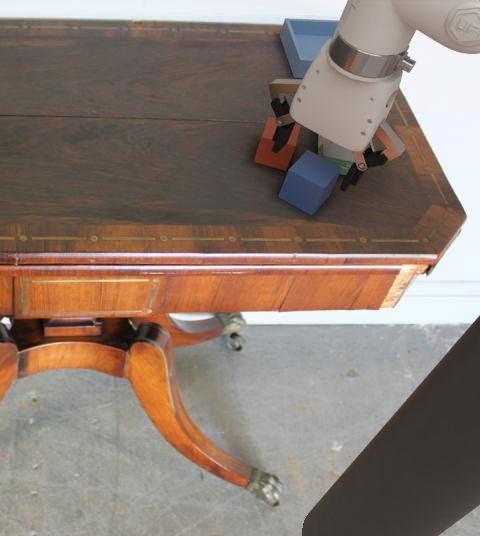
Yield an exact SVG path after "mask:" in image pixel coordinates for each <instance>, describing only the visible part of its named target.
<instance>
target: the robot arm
mask: <svg viewBox="0 0 480 536" xmlns="http://www.w3.org/2000/svg"><path fill="white" fill-rule="evenodd" d="M338 21H339V22H338V25H337V27H336V29H335V32H334V34H333V37H332V38H331V39H329V40H327V41H326V43H325V44H324V45H323V47H322V48H321V49H320V51H319V52H318V54H317V55H316V57H315V59H314V60H313V62H312V63H311V65H310V67H309V69H308V71H307V72H306V74H305V76H304V78H275V79H274V80H273V81H271V83H269V85H268V89H269V95H270V99H271V101H270V107H271V109H272V112H273V113H274V116H275V119H276V120H275V122H276V124H277V128H276V130H275V133H274V136H273V138H272V141H274V142H275V143H274V146H273V148H272V152H274V153H278V152H279V151H280V150H281V149H282V148H283V147H284V146H285V145H286V144H287V142H288V140H289V138H290V135H291V133H292V131H293V128H294V126H295V124H296V123H297V124H298V125H300V126H303V127H305V128H306V129H309V130H310V131H312V132H313V133H316V134H317V135H318V134H319V135H321V136H323V137H325V138H327V139H329V140H331V141H332V142H334V143H336V144H338V145H340V146H342V147H344V148H346V149H348V150H351V151H352V154H353V157H354V160H355V162H354V163H353V164H352V166H351V167H350V169H349V170H348V172H347V174H346V175H344V178H343V180H342V182H341V184H340V185H339V189H340V191H341V192H343V193H345V192H346V191H347V189H349V188H350V186H351V185H352V186H353V187H356V186H357V185H358V183H359V182H360V181H361V179H362V177H363V175H364V173H365V172H366V170H367V169H370V168H374V167H375V168H376V167H381V166H384V165H386V164H387V163H389V162H390V161H392V160H395V159H397V158H398V157H400V156H401V155H402V154H403V153H404V152H405V151H406V149H407V147H406V144H404V142H403V141H402V140H401V138H400V137H399V136H398V134H397V133H396V132H395V131H394V130H393V128H392V127H391V126H390V125H389V123H388V122H387V121H386V120H387V118H388V116H389V114H390V111H391V109H392V107H393V104H394V102H395V99H396V97H397V95H398V92H399V89H400V85H401V82H402V78H403V73H404V72H406V73H408V74H410V73H411V72H412V70H413V69H414V67H415V65H416V63H417V60H414V59H412V58H411V56H409V55H408V54H409V52H408V50H409V49H410V43H411V42H412V39H413V38H414V36H415V34H416V31H418V32H420V33H421V34H423V35H424V36H426V37H427V38H429V39H430V40H433V41H434V42H436V43H438V44H439V45H441V46H442V47H445V48H447V49H449V50H450V51H451V50H452V51H454V52H457V53H461V54H466V55H480V0H347V1H346V4H345V5H344V7H343V11H342V13H341V15H340V18H339V20H338ZM285 94H294V96H293V98H292V101H291V103H290V104H289V102H288V100H287V98H286V96H285ZM376 138H378V139H379V141H380V142H381V143H382V144H383V146H384V147H385V149H381V150H376V148H375V146H374V143H373V139H376Z"/></svg>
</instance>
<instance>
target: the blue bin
mask: <svg viewBox="0 0 480 536" xmlns="http://www.w3.org/2000/svg"><path fill="white" fill-rule="evenodd" d="M338 22H339V20H334V19H333V20H332V19H311V18H310V19H309V18H287V17H285V18H284V21H283V24H282V27H281V31H280V33H279V39H280V42H281V44H282V46H283V50H284V54H285V56H286V59H287V60H288V61H287V63H288V64H289V66H290V70H291V73H292V76H293V79H303V78H304V76H305V74H306V72H307V71H308V69H309V67H310V65H311V63H312V62H313V60H314V59H315V57H316V55H317V54H318V52H319V51H320V49H321V48H322V47H323V45H324V44H325V43H326V41H327V40H329V39H331V38H332V37H333V34H334V32H335V29H336V27H337V25H338Z"/></svg>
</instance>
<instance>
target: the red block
mask: <svg viewBox="0 0 480 536" xmlns="http://www.w3.org/2000/svg"><path fill="white" fill-rule="evenodd" d="M275 120H276V118H274V117H269V116H268V117H267V119H266V122H265V124H264V127H263V131H262V133H261V136H260V139H259V143H258V146H257V149H256V153H255V156H254V160H253V162H254V163H255V164H259V165H264V166H267V167H271V168H274V169H278V170H281V171H284V172H285V171H287V170H288V169H289V168H288V167H289V165H290V162H291V160H292V157H293V156H294V153H295V150H296V147H297V143H298V139H299V135H300V132H301V127H302V125H301V124H298V123H297V124H296V123H295V126H294V128H293V131H292V133H291V135H290V138H289V140H288V142H287V144H286V145H285V146H284V147H283V148H282V149H281V150H280V151H279V152H278V153H274V152H272V148H273V146H274V143H275V142H274V141H272V138H273V136H274V133H275V130H276V128H277V124H276V122H275Z"/></svg>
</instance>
